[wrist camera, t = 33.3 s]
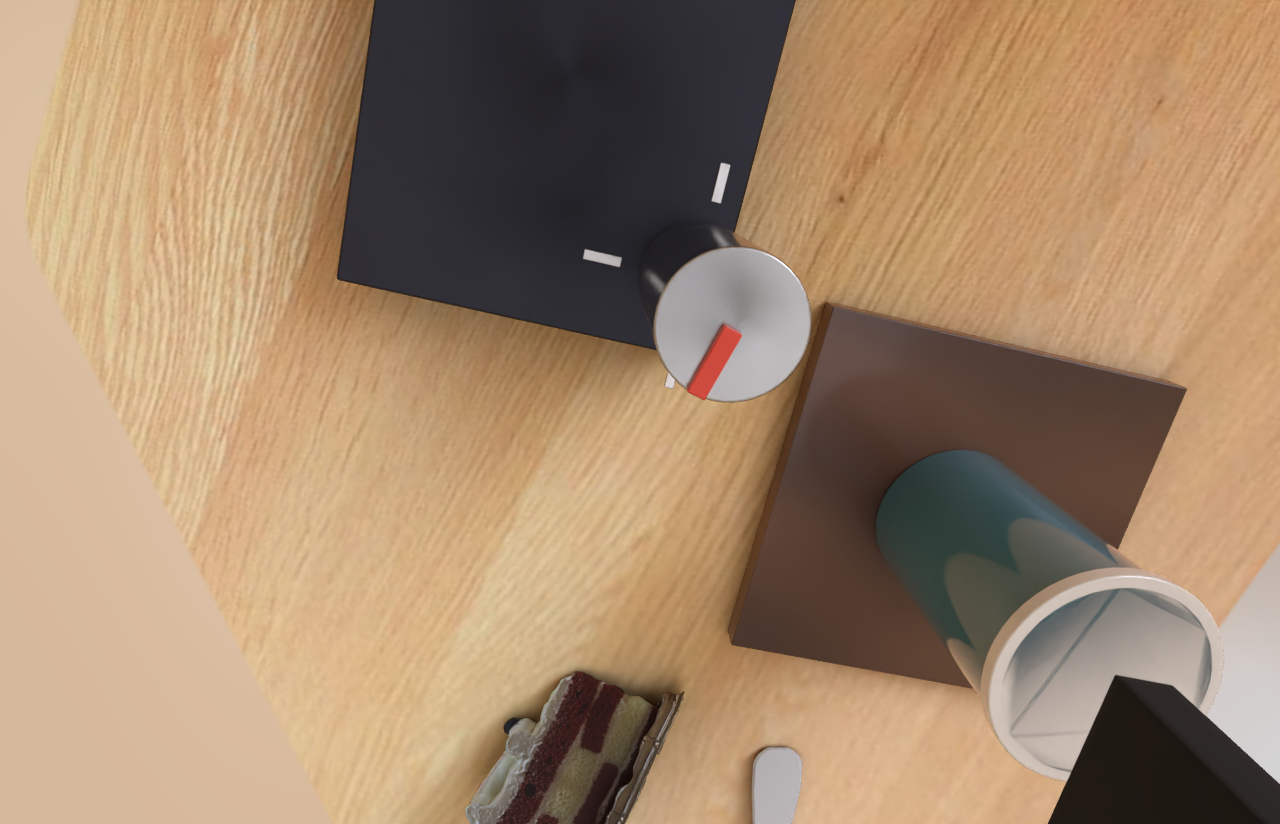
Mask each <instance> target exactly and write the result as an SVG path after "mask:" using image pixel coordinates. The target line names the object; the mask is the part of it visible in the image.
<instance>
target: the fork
mask: <svg viewBox="0 0 1280 824" xmlns="http://www.w3.org/2000/svg"><path fill="white" fill-rule="evenodd" d="M801 774H802V761H801V759H800V757H799V755H798V754H797V753H796V752H794V751H793V750H792V749H790V748H781V747H768V748H766V749H765V750H763V751H762V752H760V753H759V754H758V755H757V757H756V759H755V760H754V762H753V774H752V821H753V824H792V821H793V818H794V814H795V809H796V805H797V801H798V797H799V793H800V787H801Z"/></svg>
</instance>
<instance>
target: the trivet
mask: <svg viewBox="0 0 1280 824" xmlns="http://www.w3.org/2000/svg"><path fill="white" fill-rule="evenodd" d="M1186 390H1187V388H1185V387H1183V386H1180V385H1178V384H1175V383H1173V382H1170V381H1166V380H1162V379H1158V378H1153V377H1149V376H1145V375H1140V374H1136V373H1132V372H1128V371H1123V370H1119V369H1115V368H1110V367H1106V366H1102V365H1098V364H1093V363H1089V362H1085V361H1080V360H1076V359H1072V358H1067V357H1063V356H1059V355H1055V354H1050V353H1046V352H1042V351H1037V350H1033V349H1029V348H1025V347H1020V346H1016V345H1012V344H1007V343H1003V342H999V341H995V340H990V339H986V338H982V337H977V336H973V335H969V334H965V333H960V332H956V331H952V330H947V329H943V328H939V327H934V326H930V325H926V324H922V323H917V322H913V321H909V320H904V319H900V318H896V317H892V316H887V315H883V314H879V313H874V312H870V311H866V310H862V309H857V308H853V307H849V306H844V305H840V304H836V303H831V302H826V304H825V307H824V311H823V314H822V317H821V321H820V324H819V327H818V331H817V334H816V337H815V341H814V344H813V347H812V351H811V354H810V357H809V361H808V364H807V367H806V371H805V374H804V377H803V381H802V384H801V387H800V391H799V394H798V397H797V401H796V404H795V407H794V411H793V414H792V417H791V421H790V424H789V428H788V431H787V434H786V438H785V441H784V444H783V448H782V451H781V454H780V458H779V461H778V464H777V468H776V471H775V474H774V478H773V481H772V484H771V488H770V491H769V494H768V498H767V501H766V504H765V508H764V511H763V514H762V518H761V521H760V524H759V528H758V531H757V534H756V538H755V541H754V545H753V548H752V551H751V555H750V558H749V561H748V565H747V568H746V571H745V575H744V578H743V581H742V585H741V588H740V591H739V595H738V598H737V601H736V605H735V608H734V611H733V615H732V618H731V621H730V625H729V628H728V634H729V638H730V641H731V644H732V645H735V646H741V647H746V648H752V649H757V650H763V651H768V652H774V653H779V654H785V655H790V656H796V657H801V658H807V659H812V660H818V661H823V662H829V663H834V664H840V665H845V666H851V667H857V668H862V669H868V670H873V671H879V672H884V673H890V674H895V675H901V676H906V677H912V678H917V679H923V680H928V681H934V682H939V683H945V684H950V685H956V686H961V687H967V688H972V689H974V688H973V687H972V685H971V684H970V683H969V681H968V680H967V678H966V677H965V676H964V674H963V673H962V671H961V670H960V668H959V667H958V666H957V664H956V663H955V661H954V660H953V659H952V657H951V656H950V654H949V653H948V651H947V650H946V649H945V647H944V646H943V644H942V643H941V642H940V640H939V639H938V637H937V636H936V634H935V633H934V632H933V630H932V629H931V627H930V626H929V625H928V623H927V622H926V620H925V619H924V617H923V616H922V615H921V613H920V612H919V610H918V609H917V608H916V606H915V605H914V603H913V602H912V600H911V599H910V598H909V596H908V595H907V593H906V592H905V591H904V589H903V588H902V586H901V585H900V583H899V582H898V581H897V579H896V578H895V576H894V575H893V574H892V572H891V571H890V569H889V568H888V566H887V565H886V564H885V562H884V561H883V558H882V556H881V554H880V552H879V549H878V546H877V541H876V519H877V514H878V511H879V507H880V505H881V502H882V500H883V498H884V496H885V494H886V492H887V491H888V489H889V488H890V486H891V485H892V484H893V482H894V481H895V480H896V479H897V478H898V477H899V476H900V475H901V474H902V473H903V472H904V471H905V470H907V469H908V468H909V467H911V466H912V465H914V464H915V463H917V462H918V461H920V460H922V459H924V458H926V457H929V456H932V455H934V454H937V453H941V452H946V451H953V450H971V451H977V452H981V453H985V454H988V455H990V456H992V457H994V458H996V459H998V460H1000V461H1001V462H1003V463H1004V464H1006V465H1007V466H1008V467H1009V468H1011V469H1012V470H1013V471H1015V472H1016V473H1017V474H1019V475H1020V476H1021V477H1023V478H1024V479H1025V480H1026V481H1028V482H1029V483H1030V484H1032V485H1033V486H1034V487H1036V488H1037V489H1038V490H1040V491H1041V492H1042V493H1044V494H1045V495H1046V496H1047V497H1049V498H1050V499H1051V500H1053V501H1054V502H1055V503H1057V504H1058V505H1059V506H1061V507H1062V508H1063V509H1064V510H1066V511H1067V512H1068V513H1070V514H1071V515H1072V516H1074V517H1075V518H1076V519H1078V520H1079V521H1080V522H1081V523H1083V524H1084V525H1085V526H1087V527H1088V528H1089V529H1091V530H1092V531H1093V532H1095V533H1096V534H1097V535H1098V536H1100V537H1101V538H1102V539H1104V540H1105V541H1106V542H1108V543H1109V544H1110V545H1112V546H1113V547H1114V548H1116V549H1117V550H1118V548H1119V546H1120V543H1121V541H1122V539H1123V536H1124V534H1125V532H1126V530H1127V527H1128V525H1129V523H1130V520H1131V518H1132V516H1133V513H1134V511H1135V509H1136V506H1137V504H1138V502H1139V499H1140V497H1141V495H1142V492H1143V490H1144V488H1145V485H1146V483H1147V481H1148V478H1149V476H1150V474H1151V472H1152V469H1153V467H1154V465H1155V462H1156V460H1157V458H1158V455H1159V453H1160V451H1161V448H1162V446H1163V444H1164V441H1165V439H1166V437H1167V434H1168V432H1169V430H1170V427H1171V425H1172V423H1173V420H1174V418H1175V416H1176V414H1177V411H1178V409H1179V407H1180V404H1181V402H1182V400H1183V397H1184V395H1185V393H1186Z"/></svg>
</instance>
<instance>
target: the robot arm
mask: <svg viewBox="0 0 1280 824" xmlns="http://www.w3.org/2000/svg"><path fill="white" fill-rule="evenodd" d="M1048 824H1280V784H1279V783H1278V782H1277V781H1276V780H1274V779H1273V778H1272V777H1271V776H1270V775H1269V774H1268V773H1267V772H1266V771H1265V770H1264V769H1263V768H1262V767H1260V766H1259V765H1258V764H1257V763H1256V762H1255V761H1254V760H1253V759H1252V758H1251V757H1250V756H1248V754H1246V753H1245V752H1244V751H1243V750H1242V749H1241V748H1240V747H1239V746H1237V744H1236V743H1235V742H1233V741H1232V740H1231V739H1230V738H1229V737H1228V736H1227V735H1226V734H1225V733H1224V732H1223V731H1221V730H1220V729H1219V728H1218V727H1217V726H1216V725H1215V724H1214V723H1213V722H1212V721H1211V720H1210V719H1209V718H1207V717H1206V716H1205V715H1204V714H1203V713H1202V712H1201V711H1200V710H1199V709H1198V708H1197V707H1196V706H1195V705H1193V704H1192V703H1191V702H1190V701H1189V700H1188V699H1187V698H1186V697H1185V696H1184V695H1183V694H1182V693H1180V692H1179V691H1178V690H1177V689H1176V688H1175V687H1174V686H1173V685H1168V684H1163V683H1157V682H1152V681H1146V680H1141V679H1136V678H1130V677H1125V676H1120V675H1115V676H1114V678H1113V680H1112V682H1111V685H1110V687H1109V689H1108V691H1107V694H1106V696H1105V698H1104V700H1103V702H1102V705H1101V707H1100V709H1099V711H1098V714H1097V716H1096V718H1095V720H1094V722H1093V725H1092V727H1091V729H1090V731H1089V734H1088V736H1087V738H1086V740H1085V742H1084V745H1083V747H1082V749H1081V751H1080V754H1079V756H1078V758H1077V760H1076V762H1075V765H1074V767H1073V769H1072V771H1071V774H1070V776H1069V778H1068V780H1067V782H1066V785H1065V787H1064V789H1063V791H1062V793H1061V796H1060V798H1059V800H1058V802H1057V805H1056V807H1055V809H1054V811H1053V813H1052V816H1051V818H1050V820H1049V822H1048Z"/></svg>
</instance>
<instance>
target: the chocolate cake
mask: <svg viewBox="0 0 1280 824" xmlns="http://www.w3.org/2000/svg"><path fill="white" fill-rule="evenodd" d="M683 695H684V691H683V692H682V693H681V694H678V695H673V694H671V693H665V694H664V695H663V696H662V697H661V698H660V700H659V703H658V704H657V705H656V706H652V705H651V704H650V703H649V702H647V701H645V700H644V699H643V698H641V697H640V696H630V695H627V694H626V693H625V692H624V691H623V690H622V689H621V688H619V687H617V686H614V685H609V684H608V683H606V682H603V681H599V680H596V679H595V678H593V677H592V676H590V675H587V674H585V673H583V672H574V673H573V674H571V675H570V676H568V677H565V678H562V679H561V681H560V683H559V685H558V686H557V688H556V689H555V690H554V691H553V692H552V693H551V696H550V699H549V701H548V702H547V703H546V704H545V705H544V707H543V710H542V713H541V720H540V721H539V722H537V723H535V722H534V721H532V720H531V719H529V718H524V719H517V718H511V719H510V720H508V721H507V722H506V723H505V725H504V731H505V733H506V734H508V736H509V738H508V740H507V741H506V750H505V751H504V752H503V754H502V755H501V757H500V758H499V760H498V761H497V763H496V764H495V765H494V766H493V768H492V769H491V771H490V772H489V773H488V775H487V776H486V777H485V779H484V780H483V782H482V783H481V784H480V785H479V788H478V790H477V792H476V793H475V795H474V797H473V798H472V800H471V802H470V804H469V806H467V807H466V810H465V812H466V816H467V818H468V820H469V822H470V823H471V824H625V823H626V821H627V818H628V817H629V814H630V812H631V810H632V808H633V807H634V805H635V803H636V801H637V800H638V796H639V794H640V792H641V790H642V788H643V787H644V784H645V782H646V776H647V775H648V773H649V770H650V768H651V766H652V763H653V762H654V759H655V757H656V754H659V752H660V751H661V749H662V747H663V744H664V741H665V738H666V736H667V733H668V731H669V730H670V728H671V727H672V725H673V724H674V723H673V721H674V718H675V716H676V715H677V713H678V711H679V708H680V706H681V701H682V700H684V699H683Z"/></svg>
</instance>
